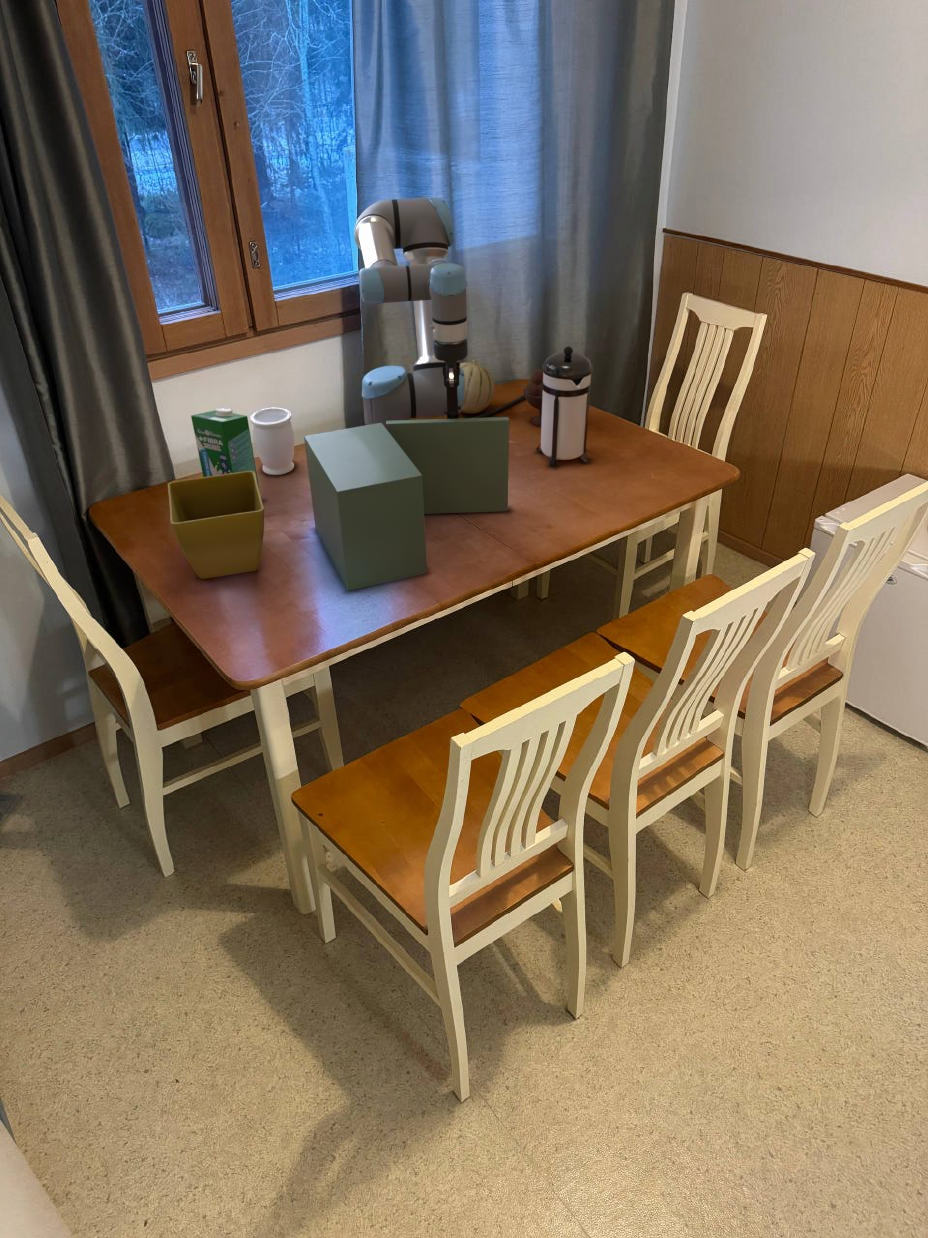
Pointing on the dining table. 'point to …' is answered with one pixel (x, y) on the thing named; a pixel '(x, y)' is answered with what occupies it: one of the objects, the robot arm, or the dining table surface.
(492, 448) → the cupboard door
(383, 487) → the cupboard
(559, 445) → the coffee press
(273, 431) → the jar
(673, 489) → the dining table surface
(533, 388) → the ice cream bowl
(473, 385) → the cantaloupe
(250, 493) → the flower pot
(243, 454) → the milk carton
